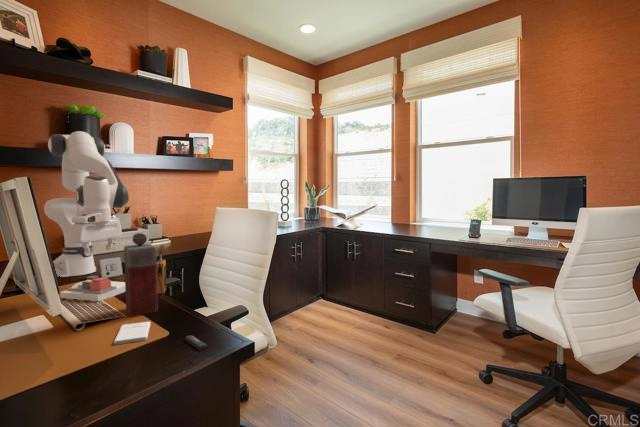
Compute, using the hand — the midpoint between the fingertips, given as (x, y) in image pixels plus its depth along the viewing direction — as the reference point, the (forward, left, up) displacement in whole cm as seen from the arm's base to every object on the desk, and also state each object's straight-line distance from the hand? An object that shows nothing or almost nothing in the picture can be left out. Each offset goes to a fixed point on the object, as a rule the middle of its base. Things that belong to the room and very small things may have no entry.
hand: (99, 251), depth 133 cm
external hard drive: (+39, -26, -19) cm, 51 cm away
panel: (-5, +4, -19) cm, 20 cm away
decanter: (+26, -8, -19) cm, 33 cm away
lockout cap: (0, 0, -16) cm, 16 cm away
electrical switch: (-23, +28, -19) cm, 41 cm away
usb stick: (+61, -28, -19) cm, 70 cm away
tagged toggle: (-6, 0, -16) cm, 17 cm away
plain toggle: (-11, +6, -16) cm, 20 cm away
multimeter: (+16, +10, -19) cm, 27 cm away
